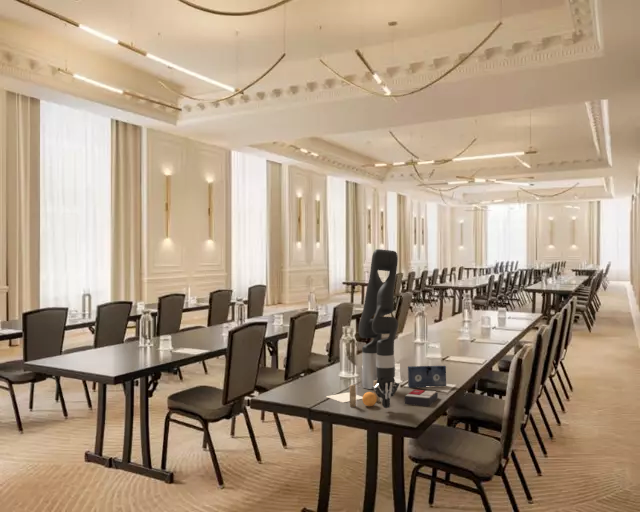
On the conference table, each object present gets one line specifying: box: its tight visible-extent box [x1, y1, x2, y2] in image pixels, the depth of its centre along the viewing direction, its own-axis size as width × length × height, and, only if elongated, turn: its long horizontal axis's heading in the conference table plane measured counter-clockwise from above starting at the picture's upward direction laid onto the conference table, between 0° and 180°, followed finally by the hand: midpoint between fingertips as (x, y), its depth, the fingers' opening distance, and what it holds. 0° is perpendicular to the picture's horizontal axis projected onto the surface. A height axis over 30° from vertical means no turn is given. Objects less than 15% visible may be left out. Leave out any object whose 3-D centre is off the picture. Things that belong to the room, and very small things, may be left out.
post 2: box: [373, 380, 381, 403], centre depth 247 cm, size 3×3×9 cm
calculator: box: [404, 389, 439, 407], centre depth 247 cm, size 11×4×15 cm
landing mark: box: [325, 391, 363, 404], centre depth 255 cm, size 13×13×1 cm
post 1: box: [349, 384, 357, 408], centre depth 240 cm, size 3×3×9 cm
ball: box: [361, 391, 377, 407], centre depth 240 cm, size 6×6×6 cm
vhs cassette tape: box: [407, 365, 447, 389], centre depth 274 cm, size 18×3×10 cm, turn 92°
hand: (386, 407), depth 232 cm, fingers closed
